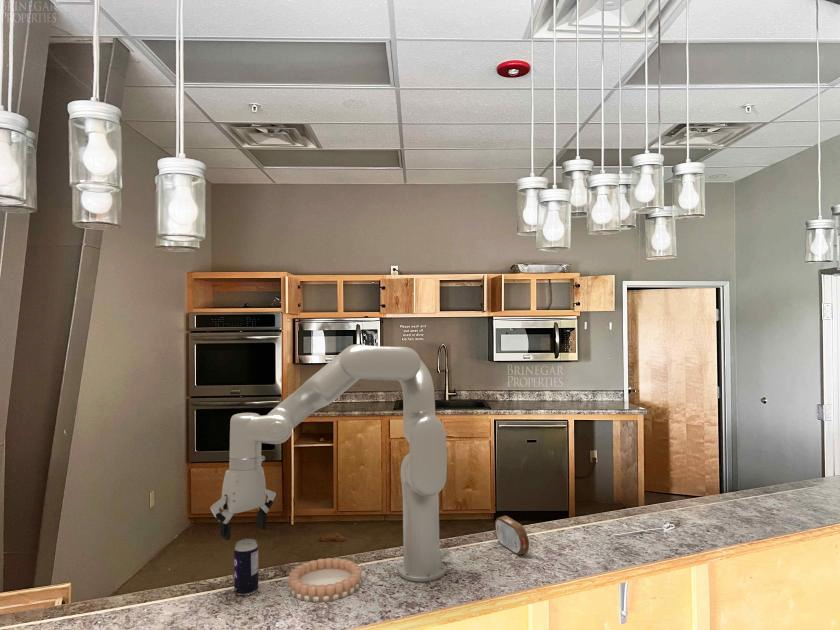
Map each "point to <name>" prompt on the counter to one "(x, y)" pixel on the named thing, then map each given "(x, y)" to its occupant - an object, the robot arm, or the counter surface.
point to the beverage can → (246, 567)
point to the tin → (512, 535)
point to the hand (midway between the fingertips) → (243, 533)
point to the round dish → (324, 580)
